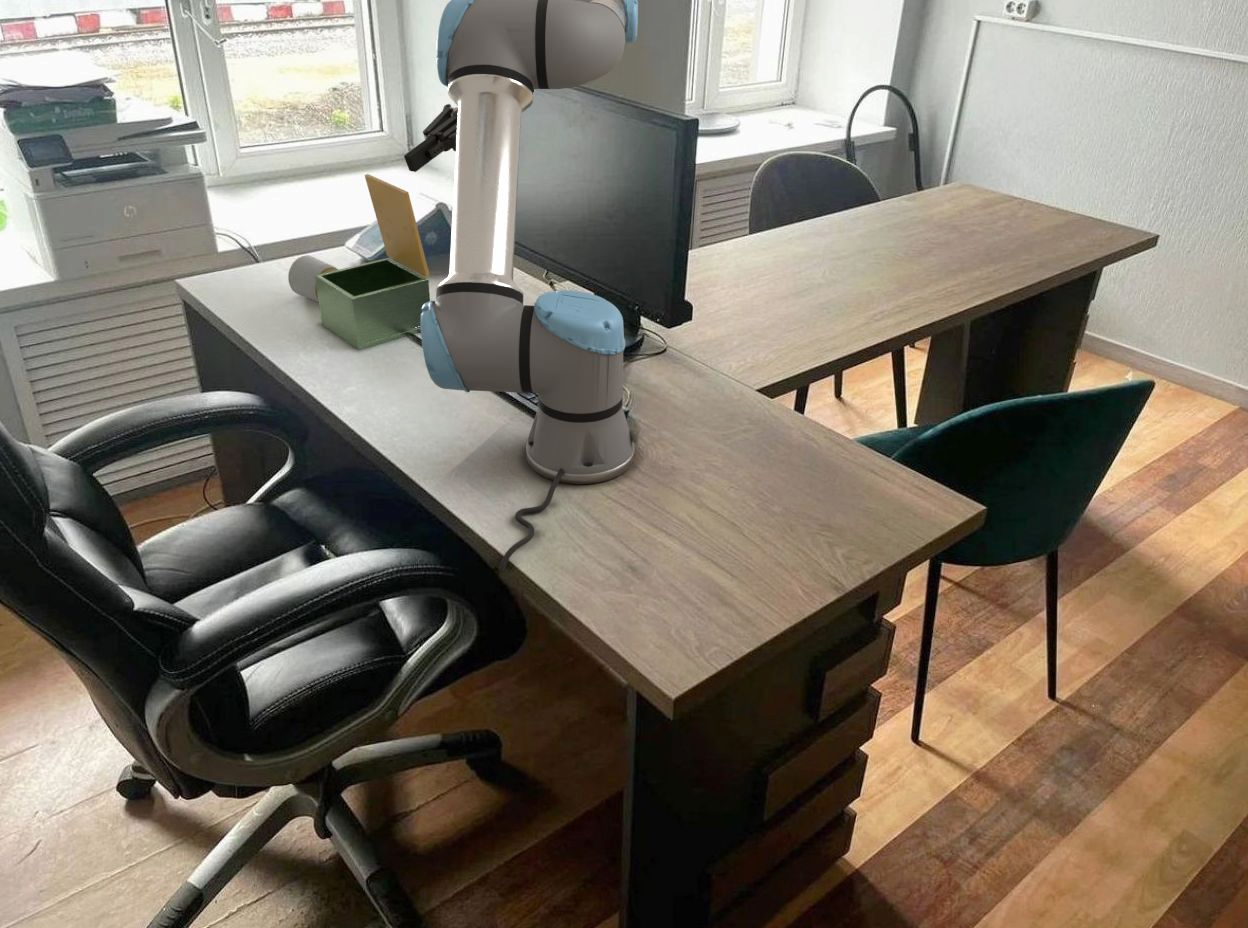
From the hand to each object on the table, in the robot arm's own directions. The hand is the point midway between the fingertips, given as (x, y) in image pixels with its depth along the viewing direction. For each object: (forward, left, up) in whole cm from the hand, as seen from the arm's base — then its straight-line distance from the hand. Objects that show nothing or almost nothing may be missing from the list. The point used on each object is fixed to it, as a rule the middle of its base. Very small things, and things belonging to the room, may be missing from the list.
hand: (409, 163), depth 163 cm
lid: (+1, +6, -12) cm, 13 cm away
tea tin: (-4, +7, -29) cm, 30 cm away
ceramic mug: (0, +25, -29) cm, 39 cm away
